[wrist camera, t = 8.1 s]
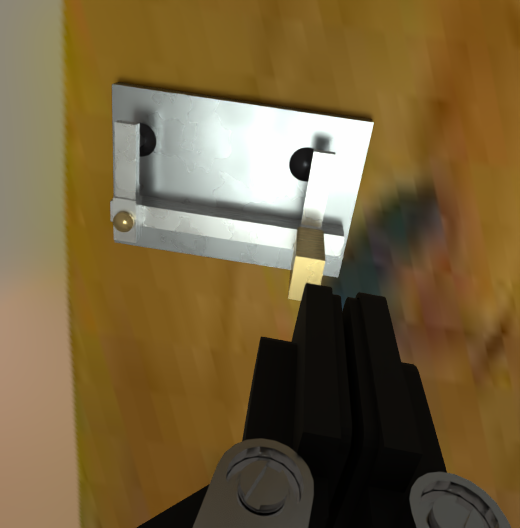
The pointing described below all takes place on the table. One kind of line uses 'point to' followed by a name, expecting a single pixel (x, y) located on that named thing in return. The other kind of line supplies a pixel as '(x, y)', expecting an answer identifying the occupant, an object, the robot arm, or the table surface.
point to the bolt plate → (228, 174)
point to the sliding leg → (311, 227)
